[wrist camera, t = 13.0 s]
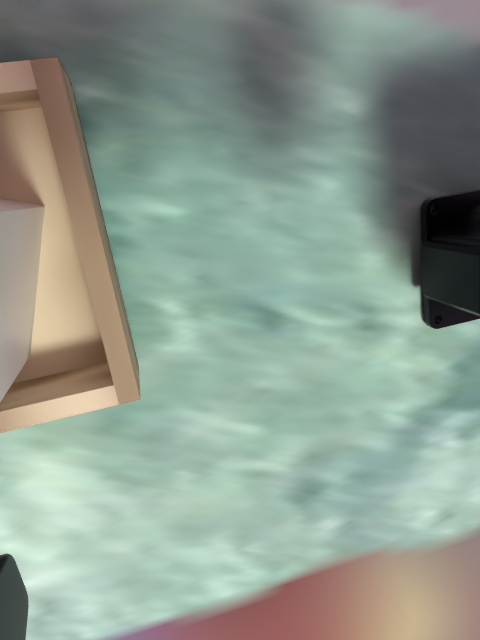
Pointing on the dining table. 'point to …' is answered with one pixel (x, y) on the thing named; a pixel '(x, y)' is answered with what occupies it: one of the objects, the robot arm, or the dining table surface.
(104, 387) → the tray
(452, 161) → the dining table surface
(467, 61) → the dining table surface
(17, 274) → the white square vase
